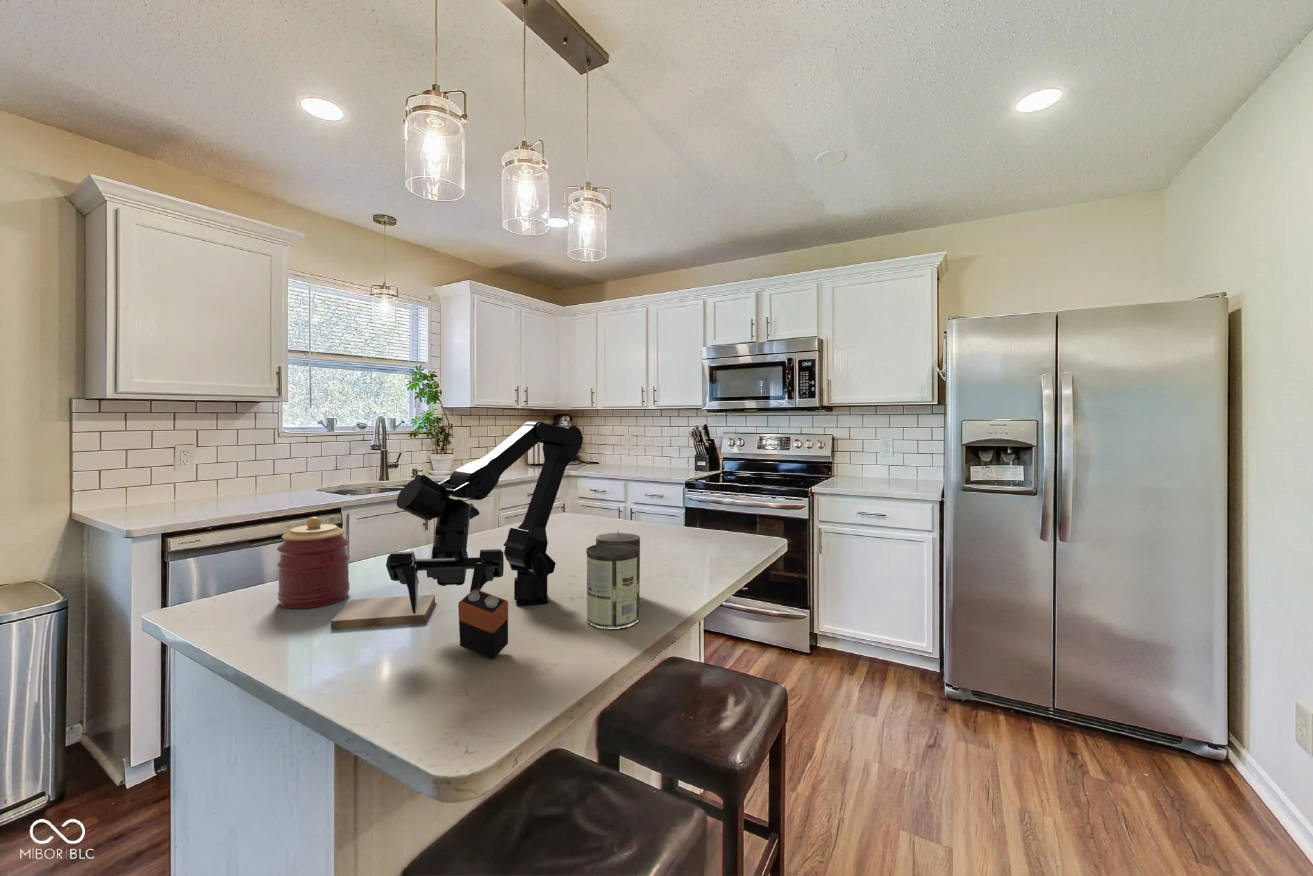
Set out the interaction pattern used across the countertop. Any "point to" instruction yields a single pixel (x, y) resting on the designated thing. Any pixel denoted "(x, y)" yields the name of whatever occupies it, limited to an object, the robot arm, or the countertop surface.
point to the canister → (313, 566)
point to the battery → (483, 623)
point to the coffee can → (612, 584)
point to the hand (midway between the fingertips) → (442, 611)
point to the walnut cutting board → (383, 612)
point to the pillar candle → (620, 541)
